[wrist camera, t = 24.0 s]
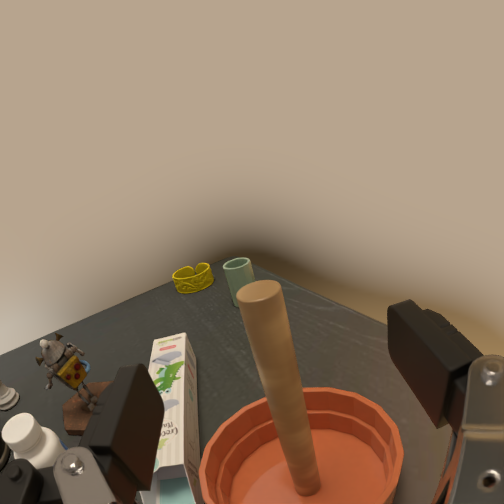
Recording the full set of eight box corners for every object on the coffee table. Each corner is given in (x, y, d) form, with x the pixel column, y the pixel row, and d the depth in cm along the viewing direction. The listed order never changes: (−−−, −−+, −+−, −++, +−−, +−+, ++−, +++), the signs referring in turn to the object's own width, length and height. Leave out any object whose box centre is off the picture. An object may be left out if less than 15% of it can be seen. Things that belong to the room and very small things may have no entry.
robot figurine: (105, 376, 41) (68, 304, 37) (146, 393, 36) (105, 312, 32) (53, 421, 32) (4, 347, 28) (88, 449, 27) (29, 367, 23)
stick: (292, 495, 19) (229, 302, 14) (298, 475, 21) (243, 281, 15) (318, 497, 19) (275, 299, 13) (322, 477, 20) (284, 277, 15)
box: (196, 358, 41) (209, 557, 15) (165, 365, 41) (156, 560, 15) (185, 332, 40) (187, 541, 14) (154, 339, 40) (127, 543, 13)
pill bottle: (57, 473, 23) (3, 411, 20) (96, 466, 25) (44, 401, 22) (55, 511, 18) (-10, 450, 15) (98, 505, 20) (34, 443, 17)
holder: (236, 310, 52) (225, 271, 50) (231, 299, 56) (221, 263, 54) (262, 302, 52) (252, 263, 50) (255, 292, 57) (246, 255, 54)
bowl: (242, 584, 12) (217, 570, 11) (210, 453, 26) (190, 418, 24) (427, 510, 14) (443, 480, 13) (349, 405, 28) (346, 365, 26)
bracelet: (213, 287, 63) (208, 272, 62) (174, 297, 63) (169, 282, 61) (214, 273, 70) (210, 259, 68) (179, 282, 69) (174, 268, 68)
